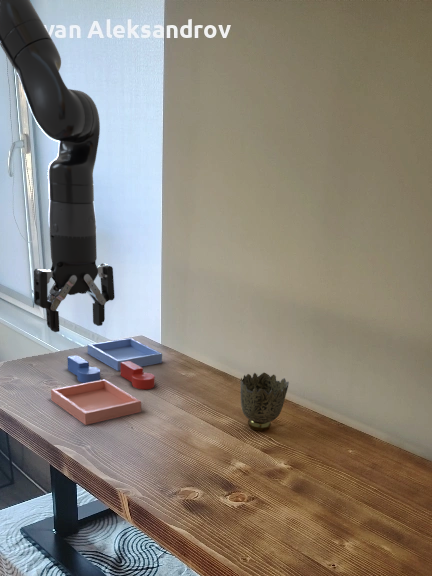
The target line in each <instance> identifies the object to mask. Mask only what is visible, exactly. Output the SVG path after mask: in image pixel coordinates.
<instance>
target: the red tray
mask: <svg viewBox="0 0 432 576" xmlns="http://www.w3.org/2000/svg"><path fill="white" fill-rule="evenodd" d="M50 399H51V400H50V401H51V402H53V403H55V404H56V405H57V406H59V407H60V408H61V409H63V410H64V411H66V412H67V414H70V416H73V417H74V418H75V419H77V420H78V421H79V422H81V423H82V424H83V425H85V426H88V425H92V424H95V423H100V422H103V421H109V420H113V419H117V418H122V417H125V416H129V415H130V416H131V415H134V414H138V413H142V400H140V399H139V398H137V397H135V396H134V395H131V394H130V393H128V392H127V391H125V390H124V389H122V388H120V387H118V386H117V385H116V384H114V383H112V382H111V381H109V380H107V379H105V378H104V379H100V380H98V381H93V382H88V383H78V384H73V385H68V386H63V387H58V388H52V389H50Z"/></svg>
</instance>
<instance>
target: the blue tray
mask: <svg viewBox="0 0 432 576" xmlns="http://www.w3.org/2000/svg"><path fill="white" fill-rule="evenodd" d="M87 354H88V355H89V356H91V357H92V358H94V359H97V360H98V361H100V362H102V363H103V364H105V365H106V366H109V367H110V368H112V369H114V370H115V371H117V372H121V362H126V361H131V362H133V363H135V364H136V365H138V366H140V367H142V368H143V367H146V366H147V367H148V366H153V365H158V364H162V363H163V353H162V352H160V351H158V350H156V349H154V348H152V347H150V346H148V345H146V344H144V343H143V342H140V341H138V340H136V339H134V338H132V337H128V338H120V339H114V340H108V341H102V342H101V341H100V342H95V343H88V344H87Z"/></svg>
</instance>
